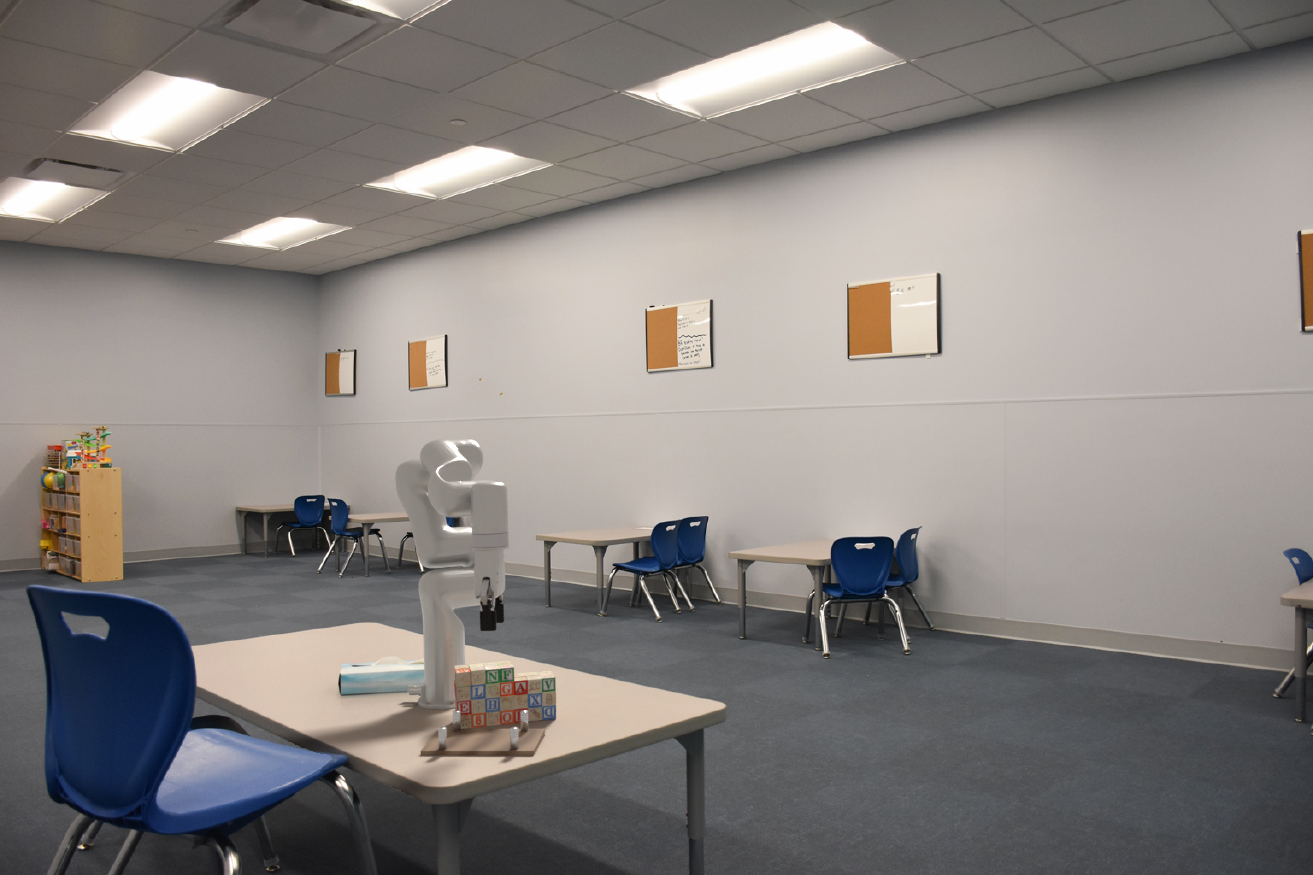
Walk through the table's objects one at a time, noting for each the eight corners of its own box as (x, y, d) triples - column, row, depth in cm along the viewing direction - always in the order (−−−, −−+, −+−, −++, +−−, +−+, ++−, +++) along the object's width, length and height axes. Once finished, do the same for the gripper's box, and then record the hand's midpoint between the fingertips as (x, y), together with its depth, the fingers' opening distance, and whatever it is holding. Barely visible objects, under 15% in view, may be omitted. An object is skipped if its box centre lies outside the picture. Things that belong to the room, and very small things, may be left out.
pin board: (420, 758, 177) (420, 730, 177) (439, 735, 190) (438, 709, 190) (534, 758, 176) (533, 730, 176) (544, 735, 189) (544, 709, 189)
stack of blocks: (552, 711, 206) (551, 656, 206) (556, 719, 200) (555, 663, 200) (454, 720, 201) (453, 664, 201) (456, 729, 195) (455, 671, 194)
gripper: (480, 538, 199) (483, 619, 199) (462, 546, 182) (465, 635, 182) (515, 537, 199) (517, 618, 199) (500, 545, 182) (502, 634, 181)
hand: (492, 626), depth 190 cm, fingers open, 7 cm apart
